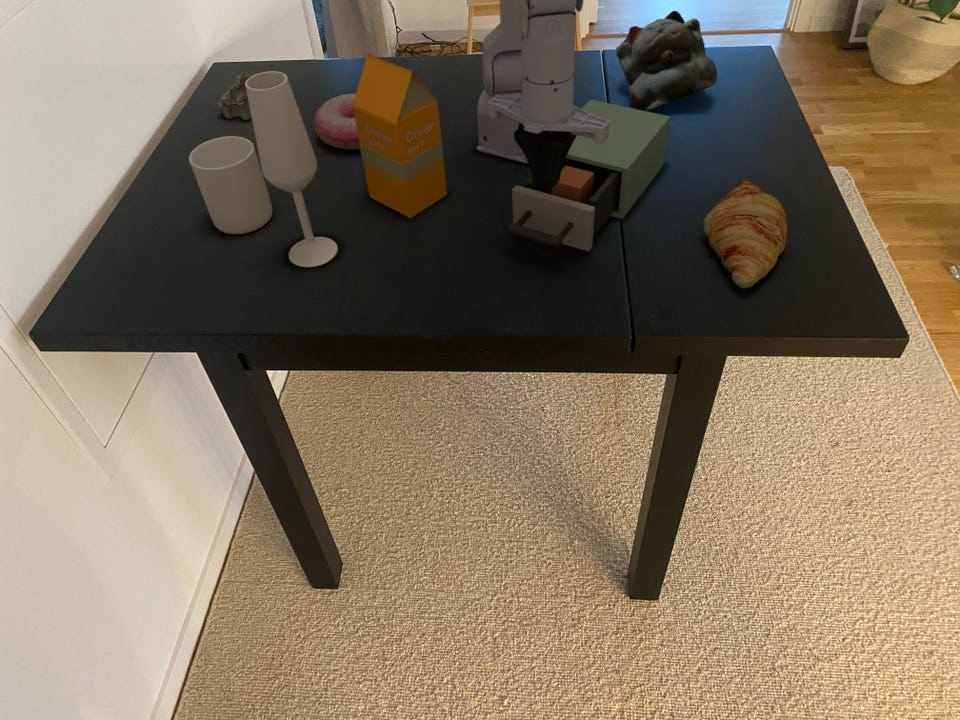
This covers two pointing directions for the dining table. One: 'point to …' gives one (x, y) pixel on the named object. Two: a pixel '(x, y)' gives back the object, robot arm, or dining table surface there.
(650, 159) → the green drawer box
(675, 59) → the lucky cat figurine
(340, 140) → the donut
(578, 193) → the rust orange cube
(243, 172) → the mug
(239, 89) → the grey rough lump
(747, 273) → the croissant
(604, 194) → the cream drawer
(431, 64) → the dining table surface
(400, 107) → the orange juice
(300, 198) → the champagne flute
